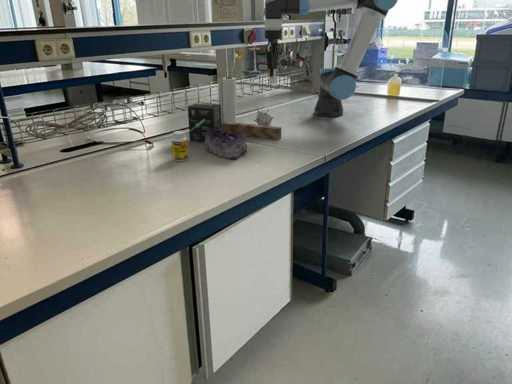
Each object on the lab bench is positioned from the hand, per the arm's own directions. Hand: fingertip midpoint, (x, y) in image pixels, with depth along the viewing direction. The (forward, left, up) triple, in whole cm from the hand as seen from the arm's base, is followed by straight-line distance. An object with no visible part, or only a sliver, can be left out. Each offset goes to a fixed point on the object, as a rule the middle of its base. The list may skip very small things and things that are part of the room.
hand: (272, 83), depth 196 cm
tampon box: (+16, +38, -19) cm, 45 cm away
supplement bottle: (+13, +64, -19) cm, 68 cm away
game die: (0, +11, -19) cm, 22 cm away
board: (0, +27, -18) cm, 33 cm away
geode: (+2, +51, -19) cm, 54 cm away
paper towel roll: (+18, +10, -19) cm, 28 cm away
